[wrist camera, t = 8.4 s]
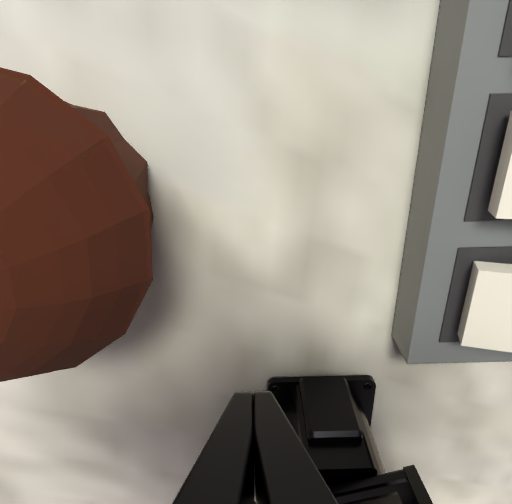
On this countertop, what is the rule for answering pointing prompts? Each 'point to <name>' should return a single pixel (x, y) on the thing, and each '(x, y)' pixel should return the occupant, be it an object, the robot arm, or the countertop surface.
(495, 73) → the switch unit
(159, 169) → the countertop surface
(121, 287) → the muffin
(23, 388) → the countertop surface
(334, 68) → the countertop surface
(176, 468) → the countertop surface
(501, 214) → the rocker
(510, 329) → the rocker
